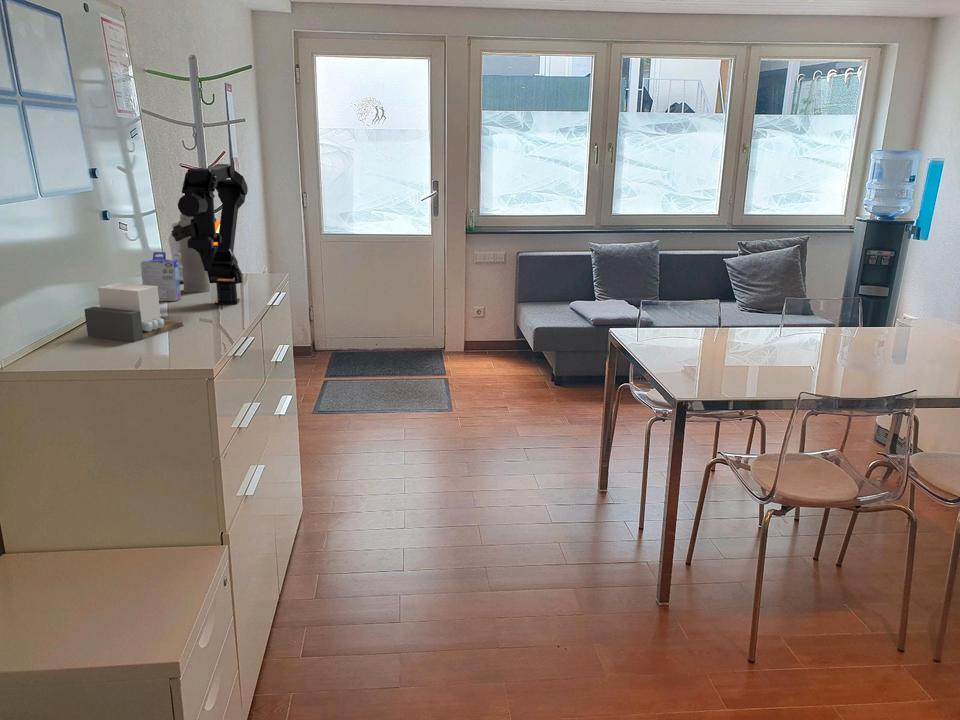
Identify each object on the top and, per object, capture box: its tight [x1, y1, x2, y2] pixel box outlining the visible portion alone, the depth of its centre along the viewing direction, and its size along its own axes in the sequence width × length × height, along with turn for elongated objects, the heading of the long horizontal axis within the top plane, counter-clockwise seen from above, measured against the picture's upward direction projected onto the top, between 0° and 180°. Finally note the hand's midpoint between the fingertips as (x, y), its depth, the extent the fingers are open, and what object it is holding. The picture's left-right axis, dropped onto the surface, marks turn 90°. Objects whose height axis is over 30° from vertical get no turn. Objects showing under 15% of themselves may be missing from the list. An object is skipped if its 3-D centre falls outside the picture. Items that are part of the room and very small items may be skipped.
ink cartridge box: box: [140, 251, 182, 302], centre depth 229 cm, size 10×6×14 cm, turn 100°
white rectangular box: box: [97, 282, 165, 331], centre depth 190 cm, size 7×14×10 cm, turn 73°
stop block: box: [83, 306, 144, 343], centre depth 185 cm, size 3×14×7 cm, turn 73°
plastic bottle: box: [168, 222, 184, 284], centre depth 256 cm, size 6×7×20 cm
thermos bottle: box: [177, 213, 211, 294], centre depth 242 cm, size 8×8×28 cm
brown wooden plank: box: [142, 319, 184, 340], centre depth 193 cm, size 18×14×1 cm
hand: (207, 271), depth 212 cm, fingers closed
